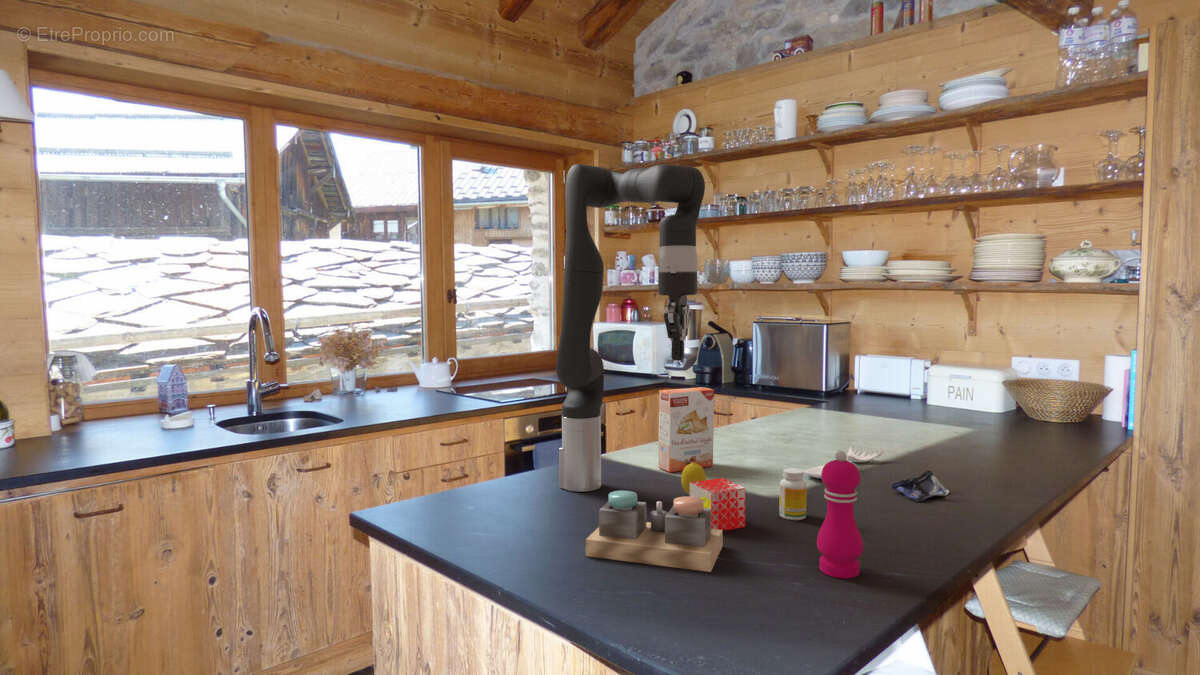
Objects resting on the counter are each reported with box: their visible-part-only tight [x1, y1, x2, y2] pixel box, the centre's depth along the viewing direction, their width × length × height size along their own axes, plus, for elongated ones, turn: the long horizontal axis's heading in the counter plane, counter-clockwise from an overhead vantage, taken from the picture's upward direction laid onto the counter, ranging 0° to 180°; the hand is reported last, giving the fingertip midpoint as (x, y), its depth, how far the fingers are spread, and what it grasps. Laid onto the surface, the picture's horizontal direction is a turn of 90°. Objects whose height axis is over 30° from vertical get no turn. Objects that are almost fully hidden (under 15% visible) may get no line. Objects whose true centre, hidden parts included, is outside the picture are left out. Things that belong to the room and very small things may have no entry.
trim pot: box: [650, 500, 669, 532], centre depth 123 cm, size 3×3×5 cm
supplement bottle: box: [778, 467, 808, 521], centre depth 139 cm, size 5×5×10 cm
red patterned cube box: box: [689, 477, 746, 531], centre depth 135 cm, size 8×8×8 cm
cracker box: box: [658, 386, 715, 473], centre depth 178 cm, size 14×6×21 cm, turn 117°
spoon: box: [802, 446, 884, 480], centre depth 176 cm, size 9×32×4 cm, turn 136°
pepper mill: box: [816, 450, 864, 579], centre depth 111 cm, size 7×7×20 cm
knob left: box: [608, 490, 638, 511], centre depth 123 cm, size 5×5×7 cm
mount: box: [585, 500, 724, 573], centre depth 121 cm, size 22×12×8 cm, turn 71°
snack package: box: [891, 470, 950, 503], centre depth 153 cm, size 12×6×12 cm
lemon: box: [680, 462, 707, 495], centre depth 153 cm, size 6×6×8 cm
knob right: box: [673, 495, 703, 518], centre depth 119 cm, size 5×5×7 cm
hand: (677, 359), depth 132 cm, fingers closed
